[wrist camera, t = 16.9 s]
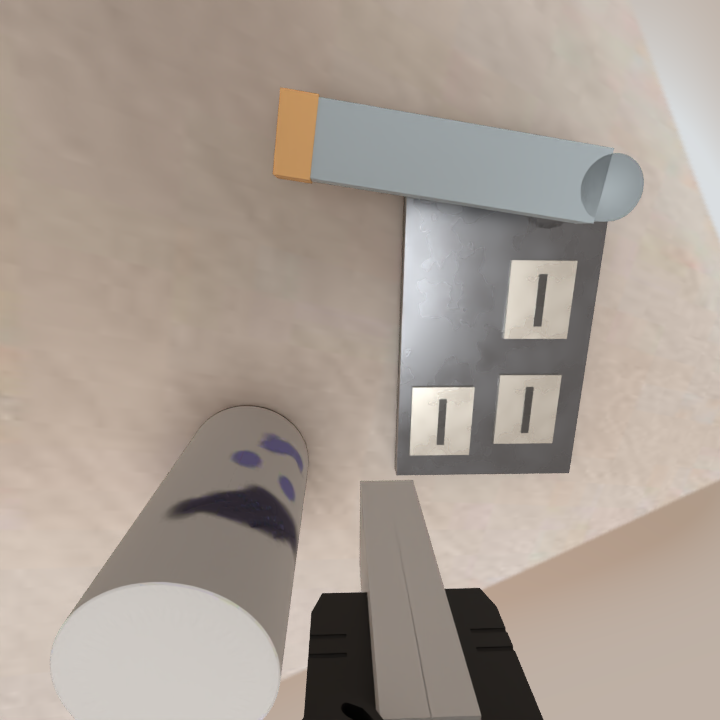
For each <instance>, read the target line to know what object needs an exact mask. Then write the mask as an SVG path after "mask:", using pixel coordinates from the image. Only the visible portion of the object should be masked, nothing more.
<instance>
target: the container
mask: <svg viewBox="0 0 720 720" xmlns="http://www.w3.org/2000/svg"><path fill="white" fill-rule="evenodd" d="M308 463H309V460H308V451H307V447H306V444H305V442H304V440H303V438H302V436H301V434H300V433H299V431H298V430H297V429H296V428H295V426H294V425H293V424H292V423H290V422H289V421H288V420H287V419H286V418H284V417H283V416H281V415H279V414H277V413H275V412H273V411H271V410H268V409H265V408H260V407H254V406H240V407H233V408H229V409H226V410H223V411H221V412H219V413H217V414H215V415H214V416H212V417H211V418H209V419H208V420H207V421H206V422H205V423H204V424H203V425H202V426H201V427H200V429H199V430H198V431H197V433H196V434H195V436H194V437H193V439H192V440H191V441H190V443H189V444H188V446H187V447H186V449H185V450H184V451H183V453H182V454H181V456H180V457H179V459H178V460H177V461H176V463H175V464H174V466H173V467H172V469H171V470H170V472H169V473H168V474H167V476H166V477H165V479H164V480H163V482H162V483H161V484H160V486H159V487H158V489H157V490H156V492H155V493H154V494H153V496H152V497H151V499H150V500H149V502H148V503H147V504H146V506H145V507H144V509H143V510H142V512H141V513H140V515H139V516H138V517H137V519H136V520H135V522H134V523H133V525H132V526H131V527H130V529H129V530H128V532H127V533H126V535H125V536H124V537H123V539H122V540H121V542H120V543H119V545H118V546H117V548H116V549H115V550H114V552H113V553H112V555H111V556H110V558H109V559H108V560H107V562H106V563H105V565H104V566H103V568H102V569H101V570H100V572H99V573H98V575H97V576H96V578H95V579H94V580H93V582H92V583H91V585H90V586H89V588H88V589H87V591H86V592H85V593H84V595H83V596H82V598H81V599H80V601H79V602H78V603H77V605H76V606H75V608H74V609H73V611H72V612H71V613H70V615H69V616H68V618H67V619H66V621H65V622H64V623H63V625H62V626H61V628H60V630H59V631H58V633H57V635H56V637H55V640H54V643H53V646H52V650H51V656H50V672H51V677H52V682H53V685H54V688H55V690H56V693H57V695H58V697H59V699H60V700H61V702H62V704H63V705H64V707H65V708H66V709H67V710H68V712H69V713H70V714H71V715H72V716H73V717H74V718H75V720H263V719H264V718H265V717H266V715H267V714H268V712H269V711H270V709H271V708H272V706H273V704H274V702H275V699H276V697H277V694H278V690H279V685H280V678H281V671H282V663H283V655H284V648H285V640H286V632H287V625H288V617H289V609H290V602H291V594H292V587H293V579H294V571H295V564H296V556H297V548H298V541H299V533H300V525H301V518H302V510H303V503H304V495H305V487H306V480H307V472H308Z"/></svg>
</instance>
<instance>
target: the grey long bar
mask: <svg viewBox="0 0 720 720" xmlns="http://www.w3.org/2000/svg"><path fill="white" fill-rule="evenodd" d="M613 151H614V148H610V147H604V146H598V145H593V144H587V143H581V142H575V141H570V140H564V139H558V138H552V137H547V136H541V135H535V134H529V133H524V132H518V131H512V130H506V129H501V128H495V127H489V126H484V125H478V124H472V123H466V122H461V121H455V120H449V119H443V118H438V117H432V116H426V115H420V114H415V113H409V112H403V111H398V110H392V109H386V108H380V107H375V106H369V105H363V104H357V103H352V102H346V101H340V100H334V99H329V98H323V97H319V94H315V93H310V92H304V91H298V90H293V89H287V88H281V87H280V97H279V108H278V120H277V131H276V142H275V154H274V165H273V175H275V176H276V177H277V178H280V179H286V180H292V181H299V182H305V183H311V184H312V182H317V183H324V184H330V185H336V186H343V187H349V188H355V189H361V190H368V191H374V192H380V193H387V194H393V195H399V196H405V197H412V198H418V199H424V200H431V201H437V202H443V203H449V204H456V205H462V206H468V207H475V208H481V209H487V210H493V211H500V212H506V213H512V214H519V215H525V216H531V217H537V218H544V219H550V220H556V221H563V222H569V223H575V224H587V223H594V222H605V221H615V220H618V219H620V218H622V217H624V216H626V215H627V214H628V213H630V212H631V211H632V210H633V209H634V207H635V206H636V205H637V203H638V202H639V200H640V198H641V195H642V192H643V186H644V179H643V173H642V170H641V168H640V166H639V165H638V163H637V162H636V161H635V160H634V159H633V158H631V157H630V156H628V155H625V154H620V153H613Z"/></svg>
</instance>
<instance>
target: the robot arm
mask: <svg viewBox="0 0 720 720" xmlns="http://www.w3.org/2000/svg"><path fill="white" fill-rule="evenodd" d="M359 562H360V578H361V592H360V593H322V595H321V597H320V598H319V600H318V602H317V604H316V606H315V607H314V609H313V611H312V613H311V627H310V641H309V657H308V668H307V683H306V697H305V710H304V718H303V719H302V720H543V718H542V715H541V713H540V710H539V708H538V706H537V703H536V701H535V698H534V696H533V693H532V692H531V689H530V686H529V684H528V682H527V679H526V677H525V674H524V672H523V669H522V667H521V665H520V662H519V660H518V657H517V655H516V653H515V651H514V650H513V645H512V643H511V640H510V638H509V636H508V633H507V632H506V631H505V626H504V624H503V621H502V619H501V616H500V614H499V611H498V609H497V607H496V606H495V604H494V603H493V602H492V601H491V600H490V599H489V598H488V597H487V596H486V594H485V593H484V592H483V591H482V590H481V589H480V588H463V589H444V585H443V582H442V579H441V575H440V572H439V568H438V565H437V561H436V558H435V555H434V551H433V548H432V544H431V541H430V537H429V534H428V530H427V527H426V524H425V520H424V517H423V513H422V510H421V506H420V503H419V500H418V496H417V493H416V489H415V486H414V482H413V480H404V481H360V561H359Z"/></svg>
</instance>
